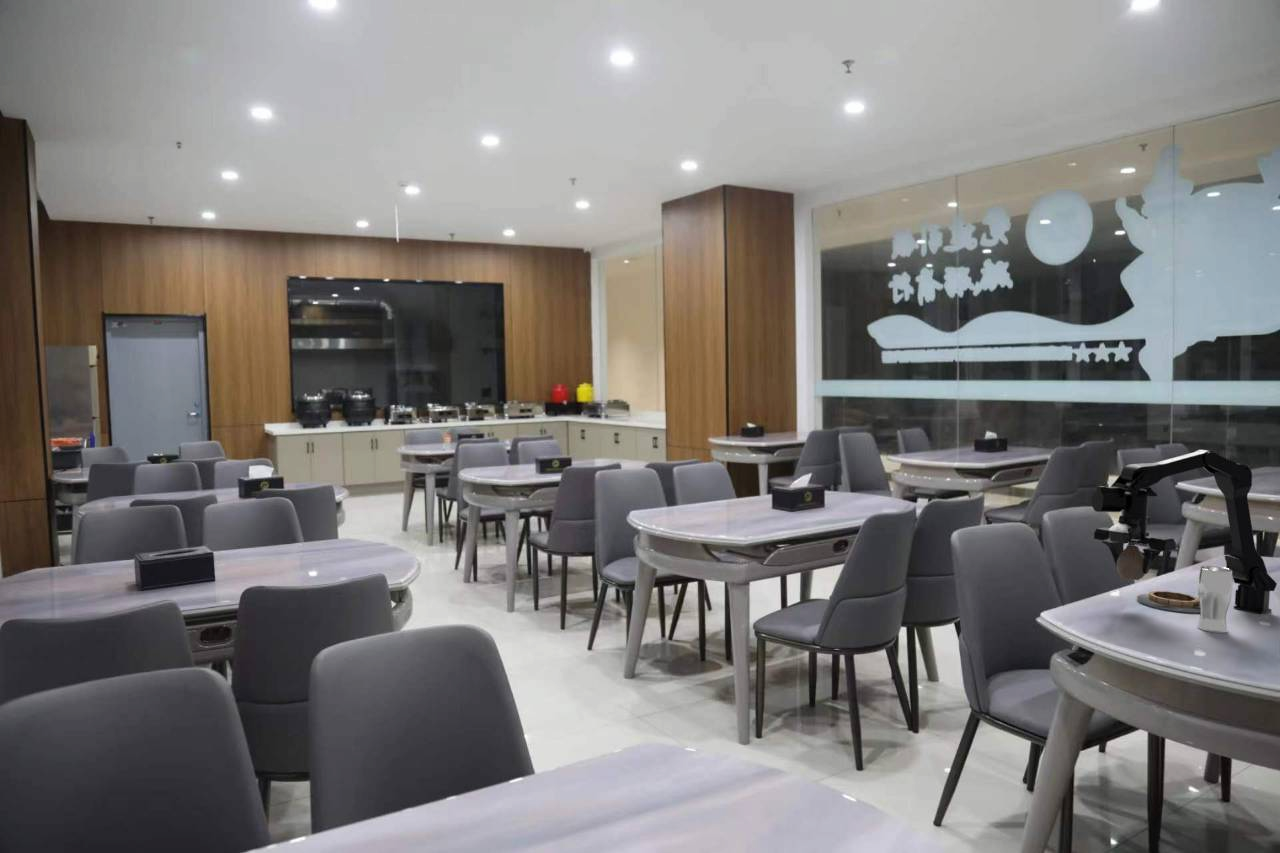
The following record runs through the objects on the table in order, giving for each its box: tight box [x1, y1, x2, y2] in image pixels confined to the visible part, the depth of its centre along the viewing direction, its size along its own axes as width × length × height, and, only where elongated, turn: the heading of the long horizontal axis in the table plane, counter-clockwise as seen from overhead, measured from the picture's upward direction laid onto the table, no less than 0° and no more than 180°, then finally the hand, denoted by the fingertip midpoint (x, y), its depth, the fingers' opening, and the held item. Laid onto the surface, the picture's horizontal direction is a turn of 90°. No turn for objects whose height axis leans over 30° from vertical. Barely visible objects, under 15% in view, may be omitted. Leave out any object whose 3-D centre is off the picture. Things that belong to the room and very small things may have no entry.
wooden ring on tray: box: [1136, 590, 1200, 614], centre depth 231 cm, size 17×17×2 cm
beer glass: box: [1197, 565, 1234, 634], centre depth 208 cm, size 7×7×15 cm
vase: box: [1116, 544, 1146, 581], centre depth 226 cm, size 7×7×9 cm
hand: (1131, 571), depth 226 cm, fingers closed on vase, 7 cm apart
